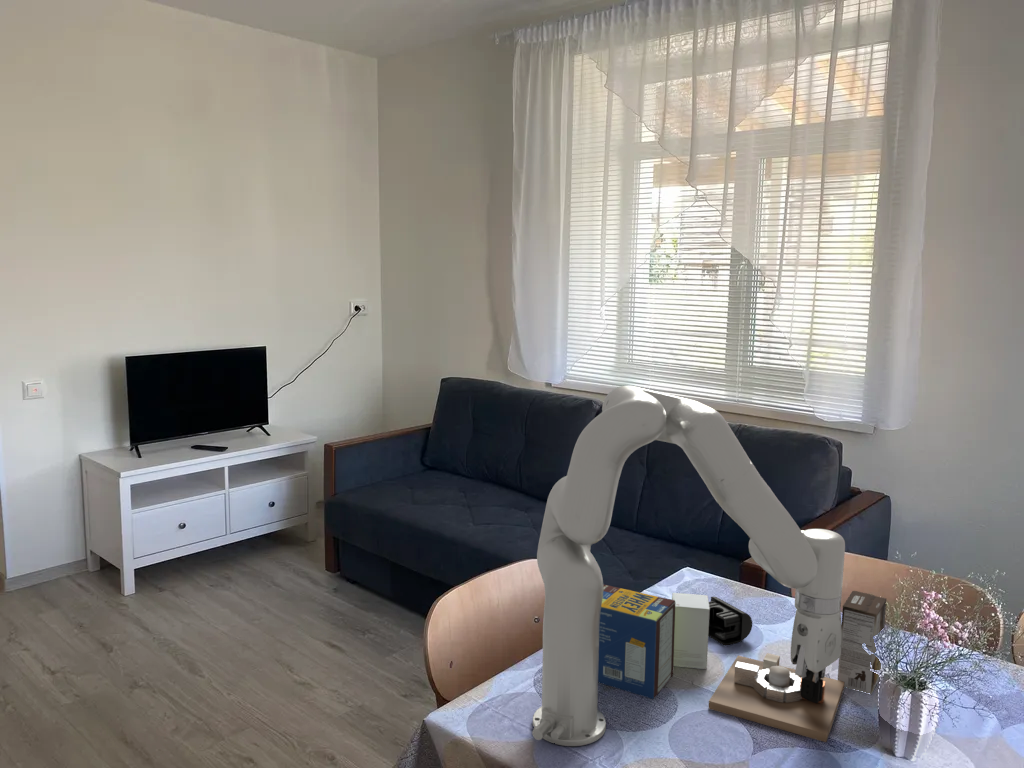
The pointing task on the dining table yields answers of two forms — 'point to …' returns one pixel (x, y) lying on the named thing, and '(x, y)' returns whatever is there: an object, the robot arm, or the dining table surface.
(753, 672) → the segmented ring with arms
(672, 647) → the protein box
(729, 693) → the base
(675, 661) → the supplement box
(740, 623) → the end cap
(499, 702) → the dining table surface
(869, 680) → the coffee box
